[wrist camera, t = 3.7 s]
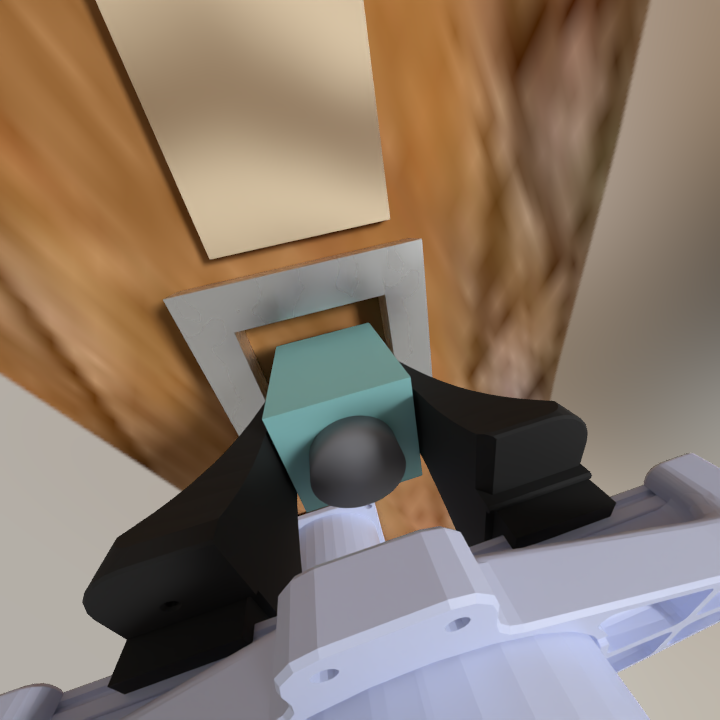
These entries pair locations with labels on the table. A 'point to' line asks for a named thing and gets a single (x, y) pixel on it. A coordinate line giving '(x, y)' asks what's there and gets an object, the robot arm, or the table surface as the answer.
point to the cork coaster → (259, 113)
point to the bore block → (296, 298)
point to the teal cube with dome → (342, 418)
